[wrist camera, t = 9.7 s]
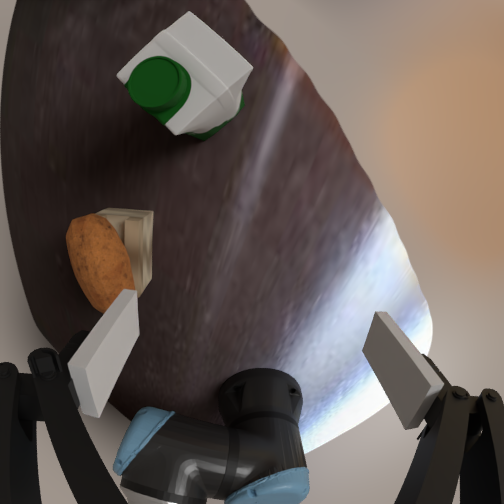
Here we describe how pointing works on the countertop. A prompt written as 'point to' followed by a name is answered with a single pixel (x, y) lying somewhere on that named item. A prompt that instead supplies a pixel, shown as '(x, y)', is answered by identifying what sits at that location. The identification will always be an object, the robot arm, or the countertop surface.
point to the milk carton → (188, 78)
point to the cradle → (134, 241)
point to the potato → (99, 260)
